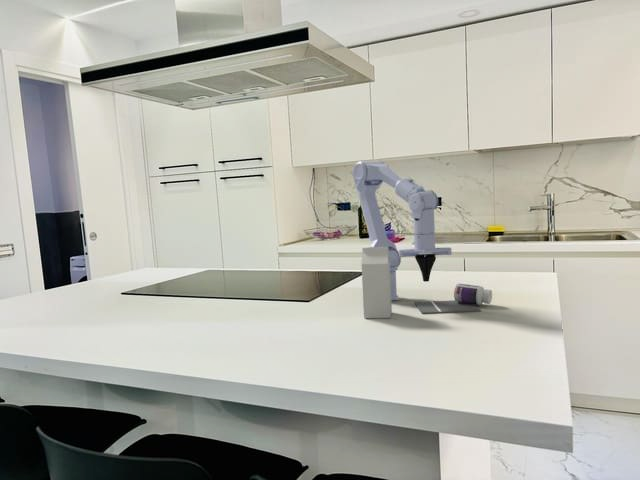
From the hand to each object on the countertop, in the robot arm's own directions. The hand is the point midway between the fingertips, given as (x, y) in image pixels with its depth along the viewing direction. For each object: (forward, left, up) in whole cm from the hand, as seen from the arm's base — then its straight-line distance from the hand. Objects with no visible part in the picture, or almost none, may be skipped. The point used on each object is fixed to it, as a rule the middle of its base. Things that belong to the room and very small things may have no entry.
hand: (426, 280), depth 142 cm
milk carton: (-15, -6, -8) cm, 18 cm away
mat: (+5, 0, -8) cm, 10 cm away
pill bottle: (+9, +4, -5) cm, 11 cm away
